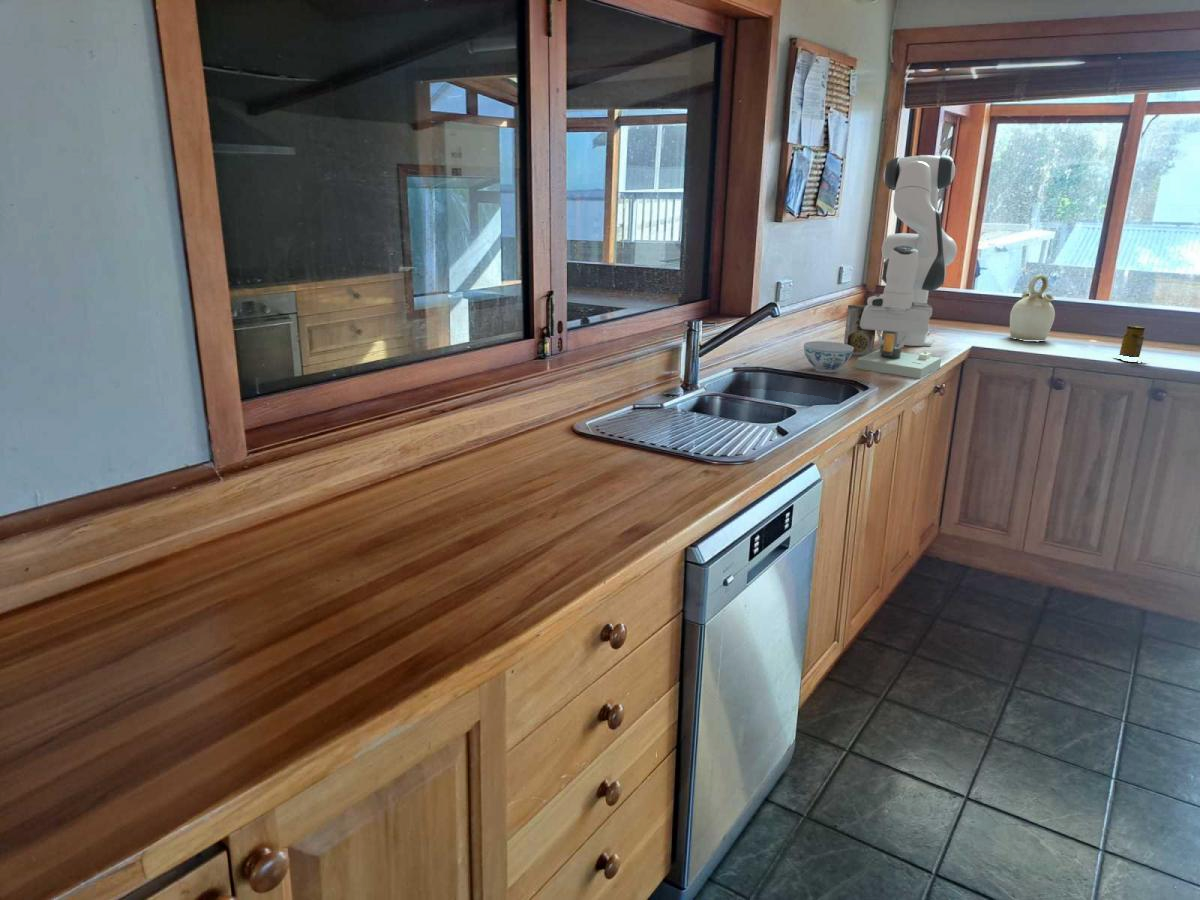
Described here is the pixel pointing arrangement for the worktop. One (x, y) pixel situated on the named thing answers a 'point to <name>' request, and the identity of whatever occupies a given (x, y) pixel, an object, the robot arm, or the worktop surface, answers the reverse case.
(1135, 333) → the condiment
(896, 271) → the robot arm
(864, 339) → the coffee box
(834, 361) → the chinaware
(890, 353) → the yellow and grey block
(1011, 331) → the jug
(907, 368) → the green base post mechanism
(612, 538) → the worktop surface
